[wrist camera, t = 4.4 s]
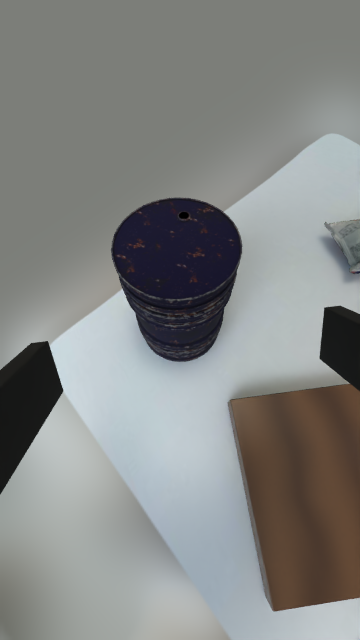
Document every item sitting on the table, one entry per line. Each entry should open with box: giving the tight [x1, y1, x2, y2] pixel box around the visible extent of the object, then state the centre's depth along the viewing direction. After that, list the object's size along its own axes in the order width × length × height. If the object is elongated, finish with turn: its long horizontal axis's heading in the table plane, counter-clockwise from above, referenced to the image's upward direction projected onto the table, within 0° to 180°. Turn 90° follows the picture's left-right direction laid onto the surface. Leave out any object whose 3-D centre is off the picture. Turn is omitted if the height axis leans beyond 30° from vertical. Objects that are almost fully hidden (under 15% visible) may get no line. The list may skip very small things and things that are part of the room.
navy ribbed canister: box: [111, 198, 242, 362], centre depth 25 cm, size 10×10×15 cm
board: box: [228, 384, 360, 611], centre depth 24 cm, size 20×16×2 cm
